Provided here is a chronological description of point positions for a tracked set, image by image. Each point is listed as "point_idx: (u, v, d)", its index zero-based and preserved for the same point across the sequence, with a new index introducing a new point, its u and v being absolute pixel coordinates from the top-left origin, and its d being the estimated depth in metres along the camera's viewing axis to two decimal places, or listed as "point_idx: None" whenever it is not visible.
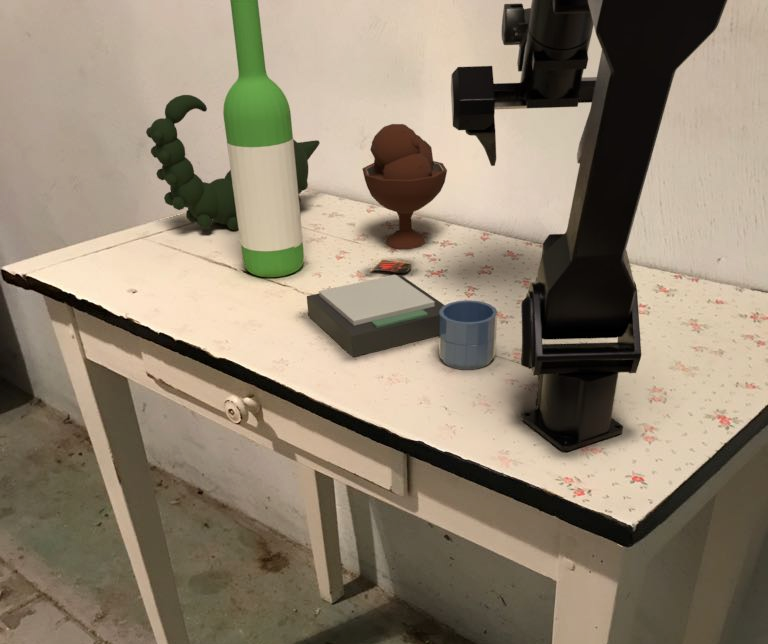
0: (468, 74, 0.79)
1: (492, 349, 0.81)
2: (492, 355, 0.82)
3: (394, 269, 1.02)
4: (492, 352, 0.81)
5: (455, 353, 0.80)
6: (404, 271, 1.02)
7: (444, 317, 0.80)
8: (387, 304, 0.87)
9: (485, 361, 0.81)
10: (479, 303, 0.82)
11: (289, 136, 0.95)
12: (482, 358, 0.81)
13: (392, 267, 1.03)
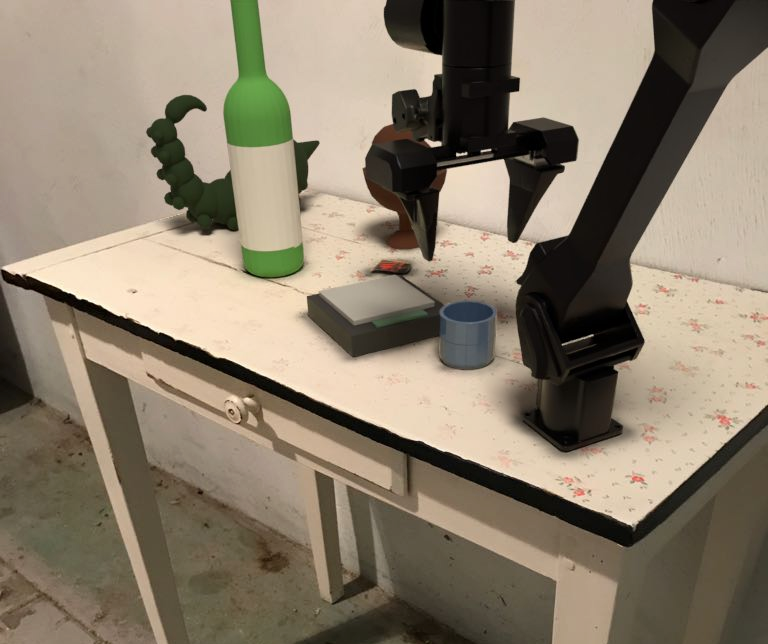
0: (388, 144, 0.69)
1: (492, 349, 0.81)
2: (492, 355, 0.82)
3: (394, 270, 1.02)
4: (492, 352, 0.81)
5: (455, 353, 0.80)
6: (404, 271, 1.02)
7: (444, 317, 0.80)
8: (387, 304, 0.87)
9: (485, 361, 0.81)
10: (479, 303, 0.82)
11: (289, 136, 0.95)
12: (482, 358, 0.81)
13: (392, 267, 1.03)
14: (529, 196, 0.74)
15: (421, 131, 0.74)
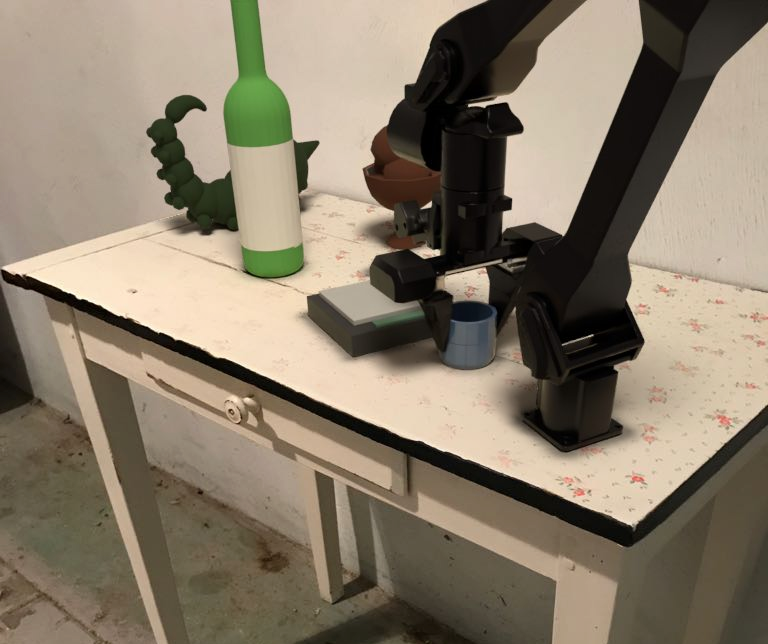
0: (390, 256, 0.75)
1: (492, 349, 0.81)
2: (492, 355, 0.82)
3: None
4: (492, 352, 0.81)
5: (455, 353, 0.80)
6: None
7: None
8: (387, 304, 0.87)
9: (485, 361, 0.81)
10: (479, 303, 0.82)
11: (289, 136, 0.95)
12: (482, 358, 0.81)
13: None
14: (507, 300, 0.79)
15: (421, 237, 0.79)
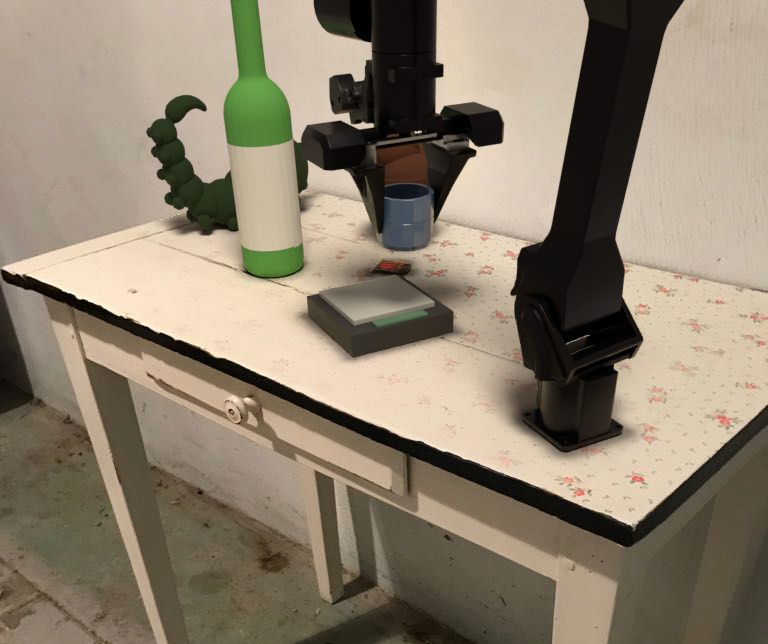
0: (321, 125, 0.73)
1: (429, 231, 0.80)
2: (429, 237, 0.81)
3: (394, 270, 1.02)
4: (429, 234, 0.80)
5: (391, 233, 0.79)
6: (404, 271, 1.02)
7: None
8: (387, 304, 0.87)
9: (422, 243, 0.80)
10: (417, 185, 0.81)
11: (289, 136, 0.95)
12: (418, 239, 0.80)
13: (392, 267, 1.03)
14: (443, 179, 0.78)
15: (357, 113, 0.78)
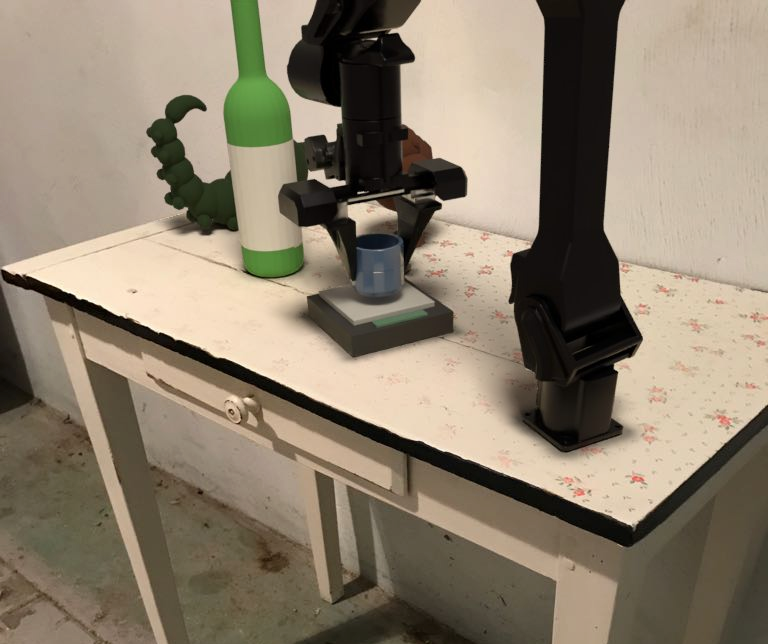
0: (296, 185, 0.79)
1: (399, 277, 0.86)
2: (400, 283, 0.86)
3: None
4: (400, 280, 0.86)
5: (363, 280, 0.85)
6: (404, 271, 1.02)
7: None
8: (387, 304, 0.87)
9: (393, 289, 0.86)
10: (388, 235, 0.87)
11: (289, 136, 0.95)
12: (389, 285, 0.85)
13: None
14: (412, 230, 0.84)
15: (331, 170, 0.84)
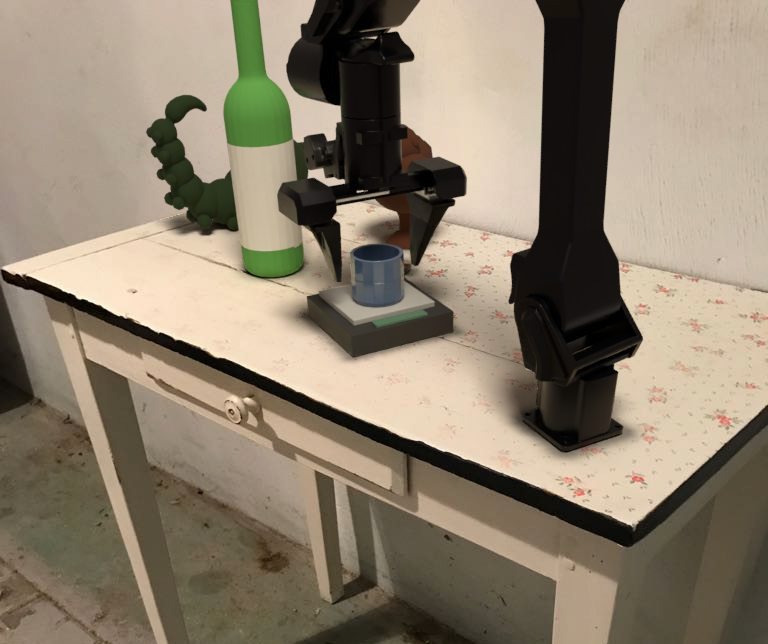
0: (295, 183, 0.79)
1: (400, 288, 0.87)
2: (400, 294, 0.87)
3: None
4: (400, 291, 0.87)
5: (364, 291, 0.86)
6: (404, 271, 1.02)
7: (353, 257, 0.85)
8: None
9: (393, 299, 0.87)
10: (388, 245, 0.88)
11: (289, 136, 0.95)
12: (390, 296, 0.86)
13: None
14: (425, 226, 0.85)
15: (330, 169, 0.84)
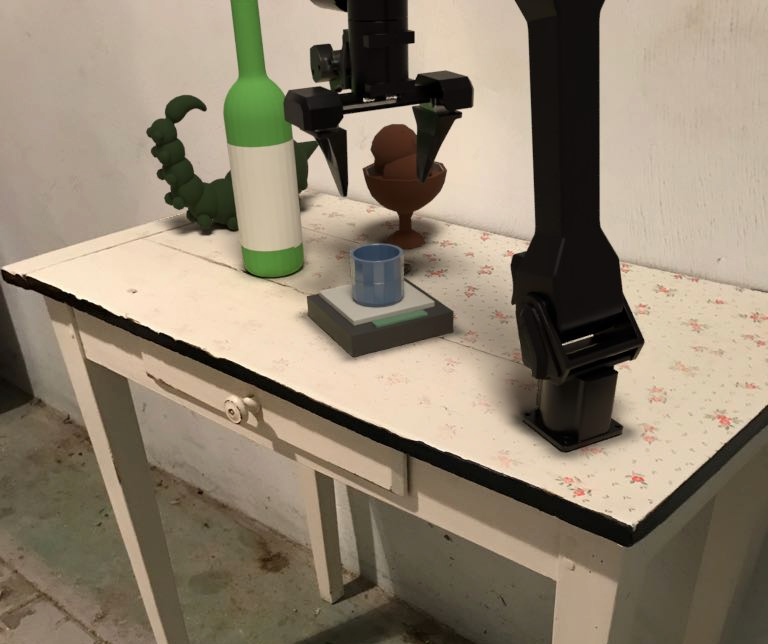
0: (302, 90, 0.79)
1: (400, 288, 0.87)
2: (400, 294, 0.87)
3: None
4: (400, 291, 0.87)
5: (364, 291, 0.86)
6: (404, 271, 1.02)
7: (353, 257, 0.85)
8: None
9: (393, 299, 0.87)
10: (388, 245, 0.88)
11: (289, 136, 0.95)
12: (390, 296, 0.86)
13: None
14: (432, 139, 0.84)
15: (336, 81, 0.84)
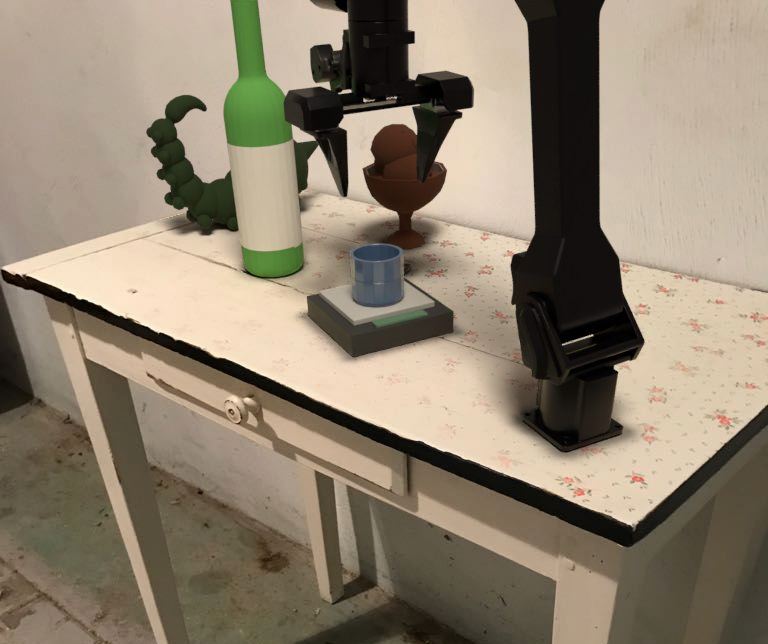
0: (302, 90, 0.79)
1: (400, 288, 0.87)
2: (400, 294, 0.87)
3: None
4: (400, 291, 0.87)
5: (364, 291, 0.86)
6: (404, 271, 1.02)
7: (353, 257, 0.85)
8: None
9: (393, 299, 0.87)
10: (388, 245, 0.88)
11: (289, 136, 0.95)
12: (390, 296, 0.86)
13: None
14: (432, 139, 0.84)
15: (336, 82, 0.84)
